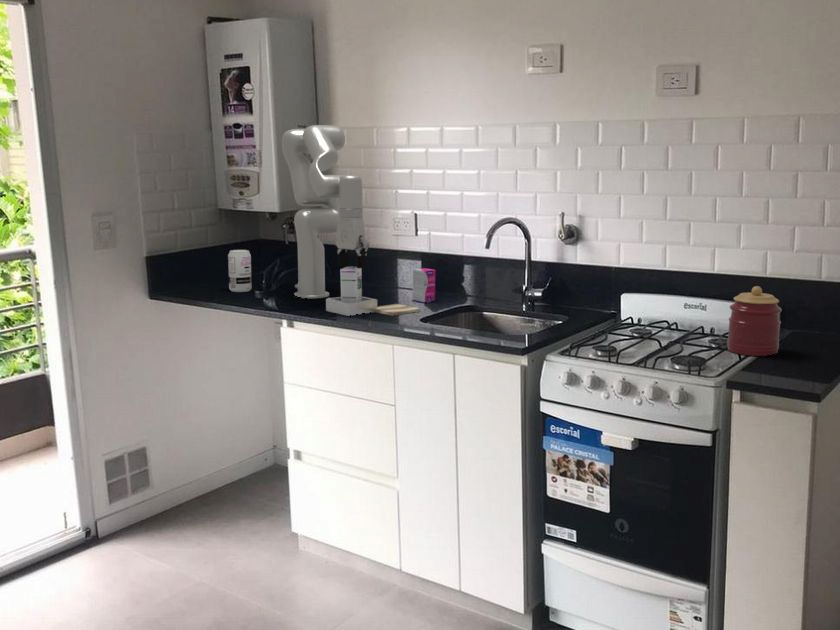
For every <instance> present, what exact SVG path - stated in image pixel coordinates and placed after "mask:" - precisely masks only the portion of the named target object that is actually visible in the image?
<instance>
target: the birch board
mask: <svg viewBox="0 0 840 630" xmlns="http://www.w3.org/2000/svg"><path fill="white" fill-rule="evenodd" d="M413 312H414V313H419V312H421V308H419V307H414V306H409V305H405V304H399V303H393V304H387V305H379V306H378V305H377V309H375V312H374V313H377V314H382V315H387V316H391V317H394V315H395V316H401V315H406V314H405V313H408V314H414V313H413ZM400 314H401V315H400Z"/></svg>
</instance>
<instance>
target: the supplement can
mask: <svg viewBox="0 0 840 630" xmlns="http://www.w3.org/2000/svg"><path fill="white" fill-rule="evenodd" d="M227 260H228V262H227V264H228V265H227V266H228V288H229V290H230V291H231V292H234V293H246V292H250V291H251V290H252V289H253V288H252V287H253V286H252V255H251V253H250V250H247V249H233V250H232V249H231V250H229V253H228V254H227Z"/></svg>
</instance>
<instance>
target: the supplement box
mask: <svg viewBox="0 0 840 630" xmlns="http://www.w3.org/2000/svg"><path fill="white" fill-rule="evenodd" d="M436 271H437V270H436V269H432V268H426V267H423V268H413V271H412V276H413V277H412V302H414V301H416V303H419V302H421V303H420V304H425V302H427V303H432V302H431V301H434V302H435V301H436V299H435V298H436V297H435V296H436Z"/></svg>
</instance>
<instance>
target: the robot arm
mask: <svg viewBox="0 0 840 630" xmlns="http://www.w3.org/2000/svg"><path fill="white" fill-rule="evenodd" d="M345 143H346V136H345V133H344V131H343V129H342V128H341V126H338V125H334V124H333V125H331V124H323V125H322V124H312V125H309V126H307V127H306V128H292V129H289V130H286V131H285V132H284V133H283V135H282V138H281V149H282V150H281V151H282V154H283V157H284V159H285V162H286V164H287V166H288V168H289V173H290V178H291V185H292V191H293V196H294V200H295V202H296V204H297V205H299V206H303V207H311V208H302V209H300V210H298V211H297V212H296V213H295V215H294V219H293V220H294V228H295V233H296V242H297V271H298V273H297V276H298V277H297V278H298V282H297V284H295V285H294V288H295V289H297V291H296V292H294V295H295V296H297V297H301V298H300V299H305V298H307V299H308V300H311V299H312V300H314V299H316V300H317V299H324V298H329V296H330V292H328V291H326V281H325V279H326V276H325V275H326V273H325V272H326V270H325V267H326V265H325V256H326V255H325V246H324V243H323V242H322V241H321V240H320V238H319V236H325V235H326V236H327V235H336V238H335V239H334V241H333V242H334V244H335V249H336V252H337V255H338V266H339V267H348V253H347V251H348V250H350V251H353V250H355V252H356V254H357V255H356V267H357V268H361V269H366V266H367V265H366V264H367V263H366V262H367V261H366V260H367V259H366V256H367V254H368V251H369V248H370V242H369V241H368V240H367V239H366V233H365V232H366V230H365V222H364V217H363V216H364V214H363V207H364V205H363V179H362V177H361V176H360V175H353V174H352V175H351V174H323V172H326V171H327V170H329V169H331V168H333V167H334V166H335V165H336V164H337V162H338V159H339V153H338V151H340V150H342V149H343V148H344V146H345ZM304 154H309V155H310V157H311V159H312V162H311V161H310V159H308V158H307V157H306V156H305V155H304ZM318 206H319V207H318ZM320 206H321V208H320ZM313 207H314V208H313ZM295 296H294V297H295ZM297 297H296V298H297Z"/></svg>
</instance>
